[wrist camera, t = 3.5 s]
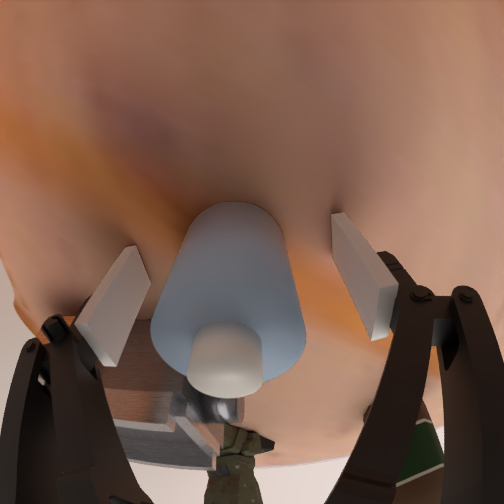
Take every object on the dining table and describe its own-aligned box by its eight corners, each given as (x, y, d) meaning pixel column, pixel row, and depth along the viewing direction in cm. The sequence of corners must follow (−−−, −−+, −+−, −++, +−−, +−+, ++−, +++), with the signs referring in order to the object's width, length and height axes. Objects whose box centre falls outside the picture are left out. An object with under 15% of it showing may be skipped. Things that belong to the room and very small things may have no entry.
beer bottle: (419, 403, 27) (461, 548, 6) (365, 426, 29) (395, 575, 8) (420, 378, 24) (475, 557, 3) (356, 406, 25) (392, 591, 4)
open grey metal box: (217, 288, 17) (203, 406, 10) (248, 386, 22) (249, 470, 15) (46, 305, 18) (0, 377, 11) (105, 386, 23) (84, 450, 16)
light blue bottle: (277, 193, 14) (312, 303, 6) (288, 281, 17) (312, 408, 9) (173, 211, 14) (109, 324, 7) (199, 293, 17) (175, 417, 9)
